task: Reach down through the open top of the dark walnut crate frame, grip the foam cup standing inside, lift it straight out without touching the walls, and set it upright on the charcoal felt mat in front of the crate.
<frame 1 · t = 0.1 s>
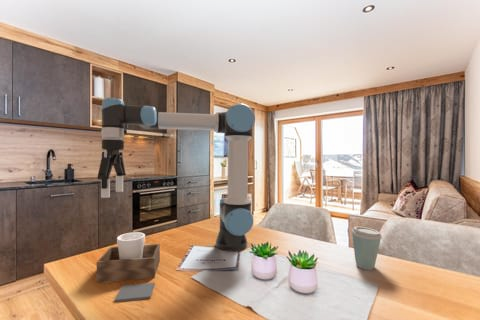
hand: (112, 194, 92), 28 cm above the table, fingers open, 13 cm apart
foam cup: (131, 271, 89), on the table
crate: (131, 270, 89), on the table
mat: (135, 292, 75), on the table
disposable coffee cup: (365, 266, 94), on the table
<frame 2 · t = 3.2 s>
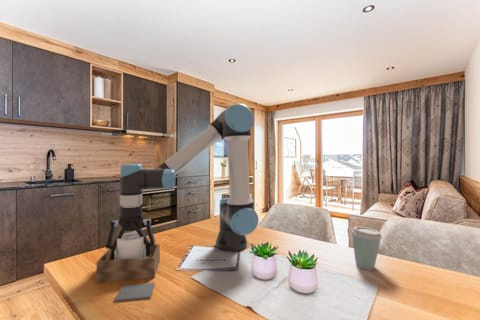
hand: (131, 265, 89), 2 cm above the table, fingers closed on foam cup, 9 cm apart
foam cup: (131, 271, 89), on the table, touching gripper
everything else where it was.
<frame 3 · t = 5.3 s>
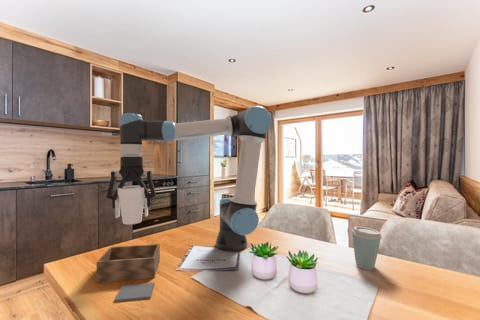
hand: (132, 216, 88), 20 cm above the table, fingers closed on foam cup, 9 cm apart
foam cup: (132, 222, 88), point 18 cm above the table, touching gripper
everything else where it was.
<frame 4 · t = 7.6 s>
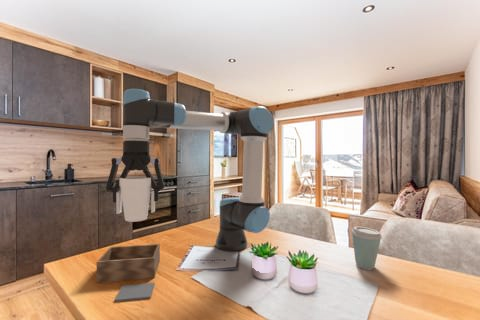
hand: (136, 212, 74), 25 cm above the table, fingers closed on foam cup, 9 cm apart
foam cup: (136, 219, 74), point 23 cm above the table, touching gripper
everything else where it was.
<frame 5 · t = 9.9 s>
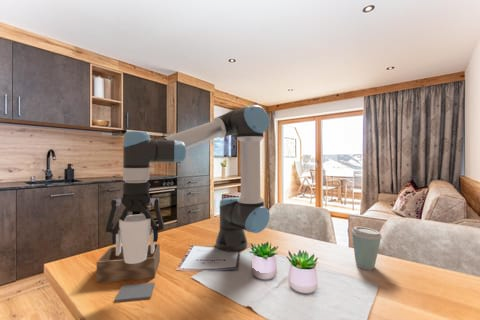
hand: (135, 252, 74), 13 cm above the table, fingers closed on foam cup, 9 cm apart
foam cup: (135, 260, 74), point 10 cm above the table, touching gripper
everything else where it was.
when the fingers open (4 cm above the table, at t = 12.1 s): foam cup drops 1 cm, resting on mat.
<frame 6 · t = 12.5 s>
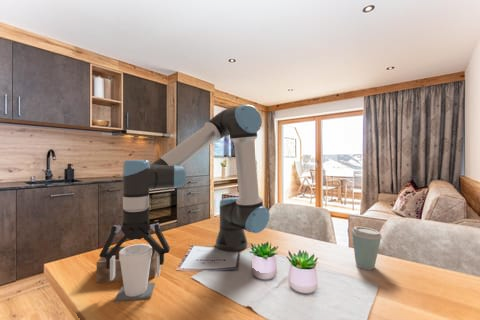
hand: (136, 276, 75), 5 cm above the table, fingers open, 13 cm apart
foam cup: (136, 291, 75), resting on mat
everything else where it was.
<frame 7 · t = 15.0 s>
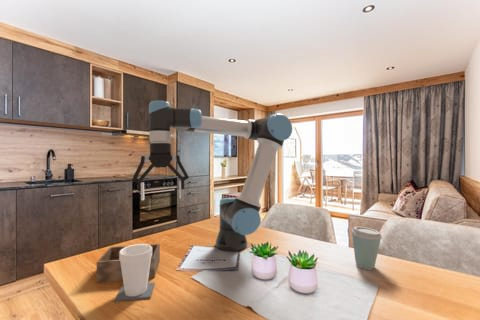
hand: (162, 198, 90), 27 cm above the table, fingers open, 13 cm apart
nothing on the table moved.
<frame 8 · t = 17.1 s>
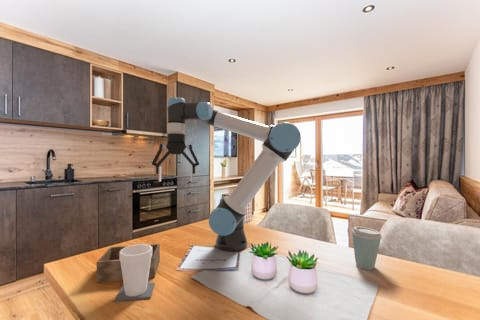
hand: (175, 181, 105), 32 cm above the table, fingers open, 13 cm apart
nothing on the table moved.
at the end: foam cup inside the target area on the mat (0.0 cm from its centre), point 0.4 cm above the mat's base; foam cup tilted 0°; foam cup touching mat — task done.
